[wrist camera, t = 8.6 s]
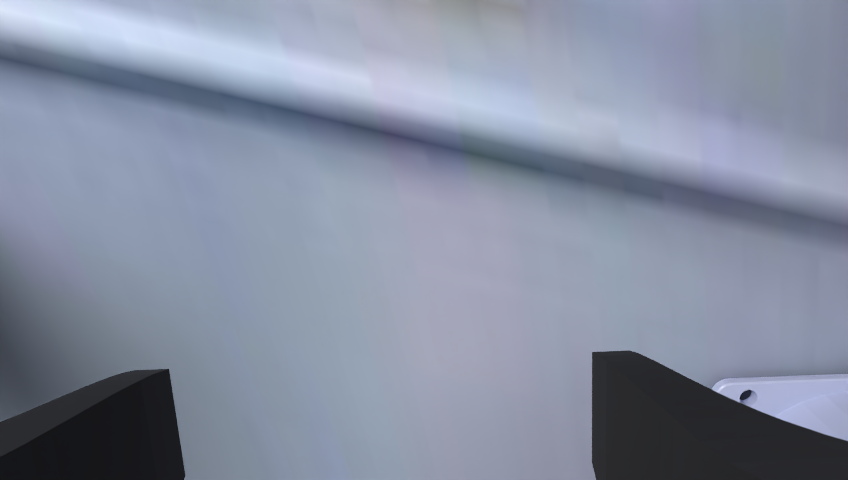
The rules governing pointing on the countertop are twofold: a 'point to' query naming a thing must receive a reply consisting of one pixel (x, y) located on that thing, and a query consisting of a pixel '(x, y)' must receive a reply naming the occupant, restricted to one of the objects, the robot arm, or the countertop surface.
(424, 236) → the countertop surface
